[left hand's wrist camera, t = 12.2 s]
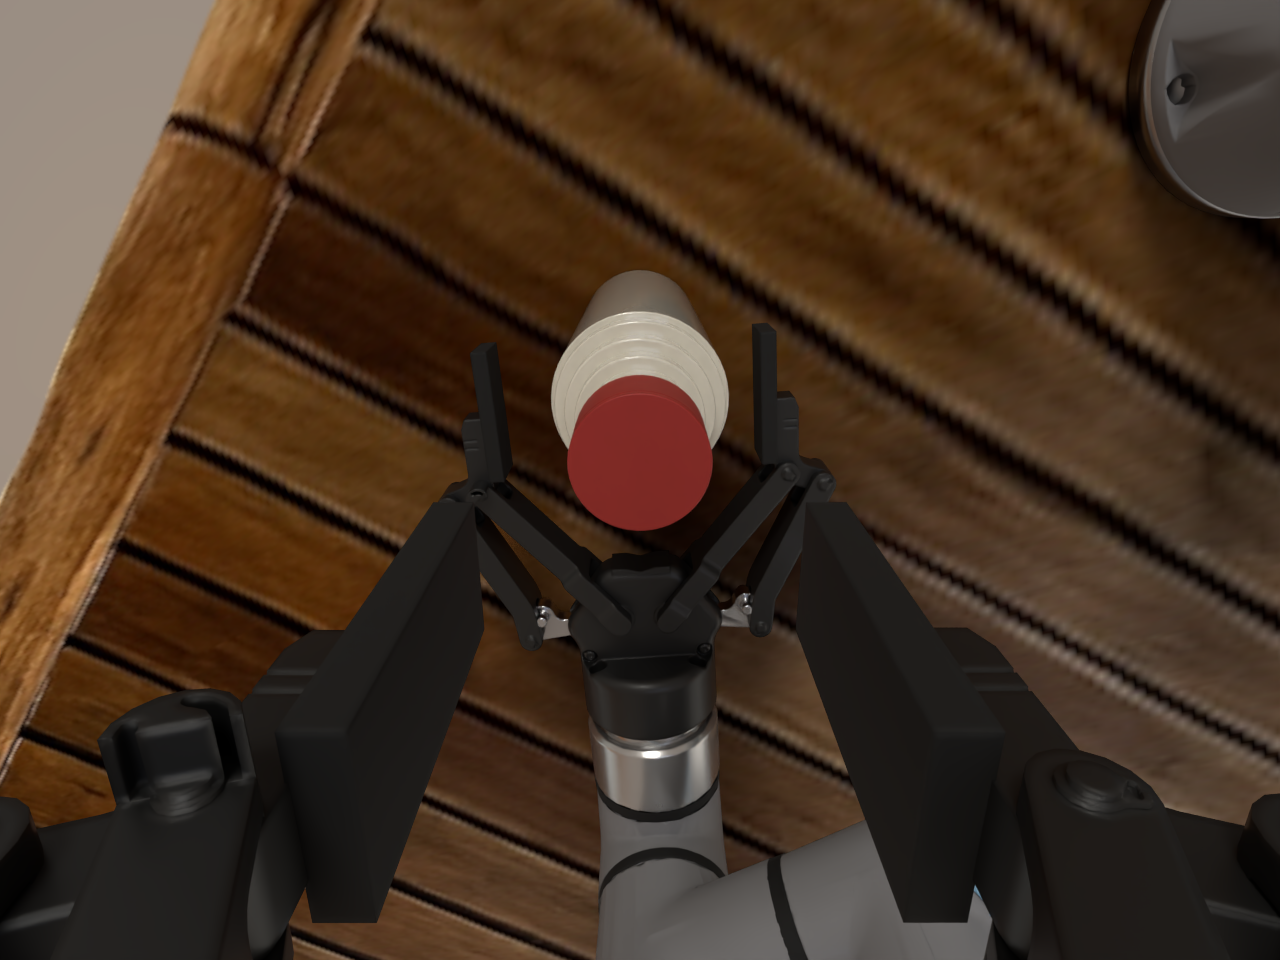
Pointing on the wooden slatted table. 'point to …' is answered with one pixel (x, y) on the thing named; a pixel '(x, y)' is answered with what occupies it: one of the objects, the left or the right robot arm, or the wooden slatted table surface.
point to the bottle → (640, 349)
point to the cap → (639, 453)
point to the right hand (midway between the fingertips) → (622, 336)
